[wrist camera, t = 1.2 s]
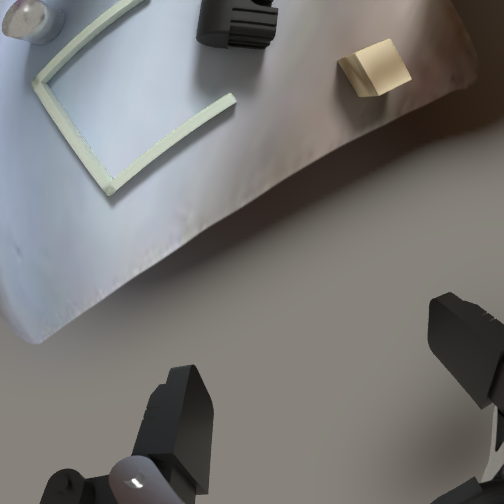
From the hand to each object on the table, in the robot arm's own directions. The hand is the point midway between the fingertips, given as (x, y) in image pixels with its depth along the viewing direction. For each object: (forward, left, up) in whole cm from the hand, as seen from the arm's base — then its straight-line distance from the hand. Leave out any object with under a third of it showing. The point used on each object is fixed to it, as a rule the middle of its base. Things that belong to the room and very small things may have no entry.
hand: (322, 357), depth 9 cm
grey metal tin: (-32, -8, -26) cm, 43 cm away
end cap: (-17, +10, -27) cm, 33 cm away
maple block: (-4, +19, -26) cm, 33 cm away
